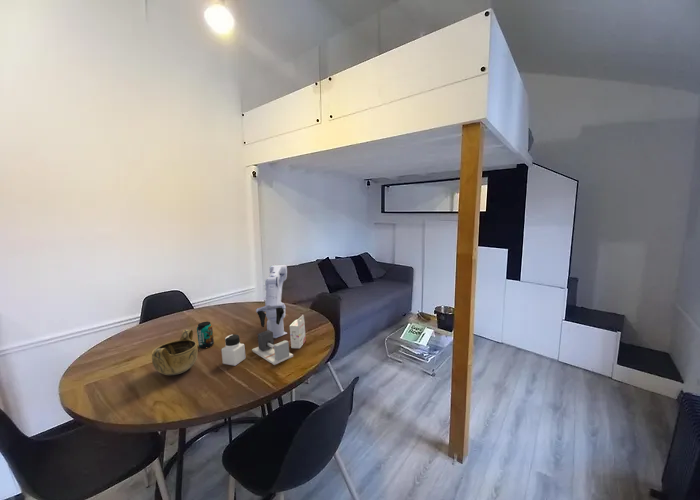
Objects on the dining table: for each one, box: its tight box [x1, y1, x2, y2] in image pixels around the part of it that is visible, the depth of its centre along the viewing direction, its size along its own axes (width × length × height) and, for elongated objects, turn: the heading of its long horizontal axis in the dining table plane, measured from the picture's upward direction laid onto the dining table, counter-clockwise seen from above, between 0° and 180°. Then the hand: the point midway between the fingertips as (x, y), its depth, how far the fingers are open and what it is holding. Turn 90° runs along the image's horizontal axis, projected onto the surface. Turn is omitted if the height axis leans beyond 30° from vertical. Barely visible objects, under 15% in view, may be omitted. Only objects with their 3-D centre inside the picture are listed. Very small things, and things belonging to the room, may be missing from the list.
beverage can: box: [196, 321, 215, 349], centre depth 147 cm, size 7×7×12 cm
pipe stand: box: [251, 339, 294, 366], centre depth 136 cm, size 20×10×8 cm, turn 46°
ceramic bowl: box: [151, 329, 199, 376], centre depth 123 cm, size 22×17×15 cm
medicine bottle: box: [221, 333, 247, 367], centre depth 130 cm, size 7×7×12 cm
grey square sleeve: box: [257, 330, 275, 351], centre depth 139 cm, size 4×6×8 cm, turn 136°
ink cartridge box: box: [289, 314, 307, 349], centre depth 144 cm, size 9×5×15 cm, turn 168°
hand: (270, 325), depth 138 cm, fingers open, 7 cm apart
